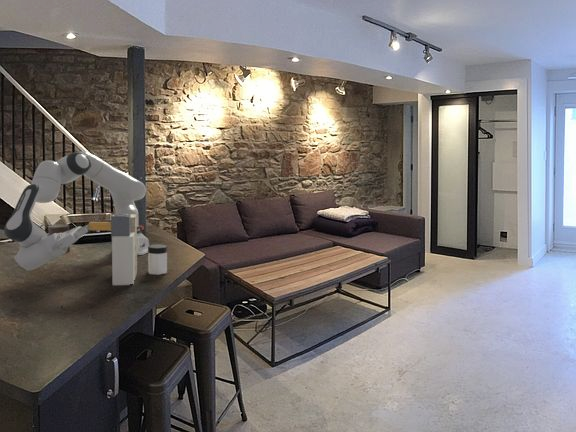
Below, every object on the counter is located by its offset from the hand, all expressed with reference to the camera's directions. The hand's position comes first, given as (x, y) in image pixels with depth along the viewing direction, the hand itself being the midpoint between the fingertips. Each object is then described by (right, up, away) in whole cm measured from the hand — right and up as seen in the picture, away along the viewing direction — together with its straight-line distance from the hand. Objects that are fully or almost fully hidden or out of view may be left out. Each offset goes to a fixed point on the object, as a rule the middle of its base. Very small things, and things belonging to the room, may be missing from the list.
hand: (89, 227), depth 192 cm
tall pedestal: (+9, -21, +17) cm, 29 cm away
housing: (+8, -3, +2) cm, 8 cm away
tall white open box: (+12, -23, +6) cm, 26 cm away
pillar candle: (-38, -14, +54) cm, 67 cm away
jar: (+21, -21, +23) cm, 38 cm away
